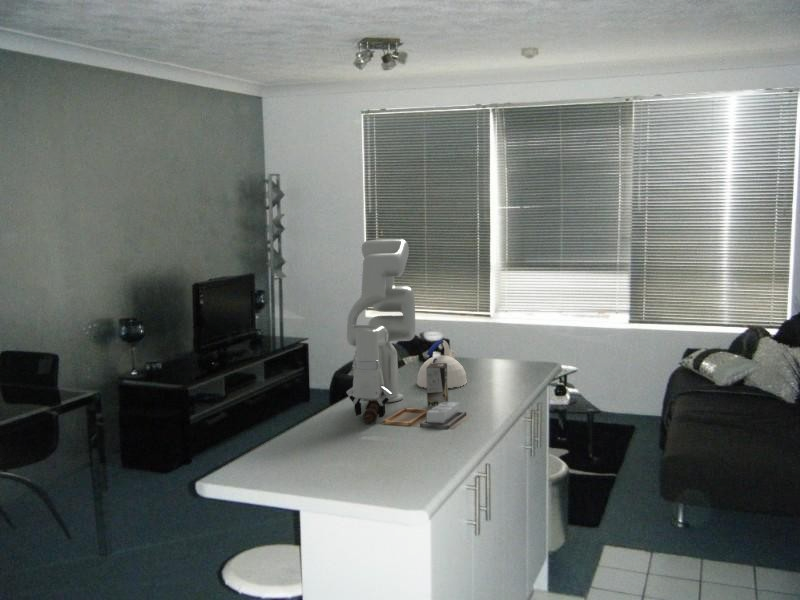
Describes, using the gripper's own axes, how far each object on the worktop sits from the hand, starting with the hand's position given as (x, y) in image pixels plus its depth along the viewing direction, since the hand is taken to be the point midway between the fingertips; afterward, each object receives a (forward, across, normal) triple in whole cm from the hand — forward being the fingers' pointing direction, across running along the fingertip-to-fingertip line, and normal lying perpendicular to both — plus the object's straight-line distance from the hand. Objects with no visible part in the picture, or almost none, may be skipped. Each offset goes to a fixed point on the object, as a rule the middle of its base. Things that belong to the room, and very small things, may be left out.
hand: (370, 415), depth 276 cm
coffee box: (+1, +18, +18) cm, 26 cm away
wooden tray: (+1, +20, +1) cm, 20 cm away
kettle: (+1, +4, +60) cm, 60 cm away
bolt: (+2, 0, +1) cm, 2 cm away
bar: (0, +26, +1) cm, 27 cm away
